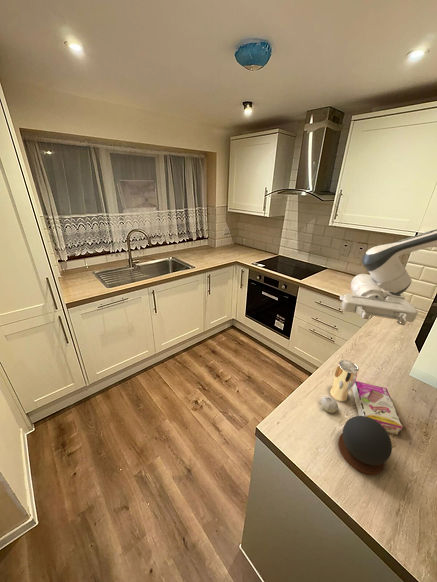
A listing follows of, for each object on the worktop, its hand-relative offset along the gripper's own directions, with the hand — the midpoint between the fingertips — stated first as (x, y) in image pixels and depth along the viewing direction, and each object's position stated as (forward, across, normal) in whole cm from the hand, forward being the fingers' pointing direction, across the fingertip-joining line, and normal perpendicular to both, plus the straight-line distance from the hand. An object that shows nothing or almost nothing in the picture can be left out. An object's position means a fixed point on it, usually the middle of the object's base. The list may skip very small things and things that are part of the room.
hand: (384, 319), depth 68 cm
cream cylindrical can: (-5, -3, +38) cm, 39 cm away
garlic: (+2, -8, +38) cm, 39 cm away
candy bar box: (-10, +8, +35) cm, 38 cm away
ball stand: (+16, 0, +38) cm, 41 cm away
